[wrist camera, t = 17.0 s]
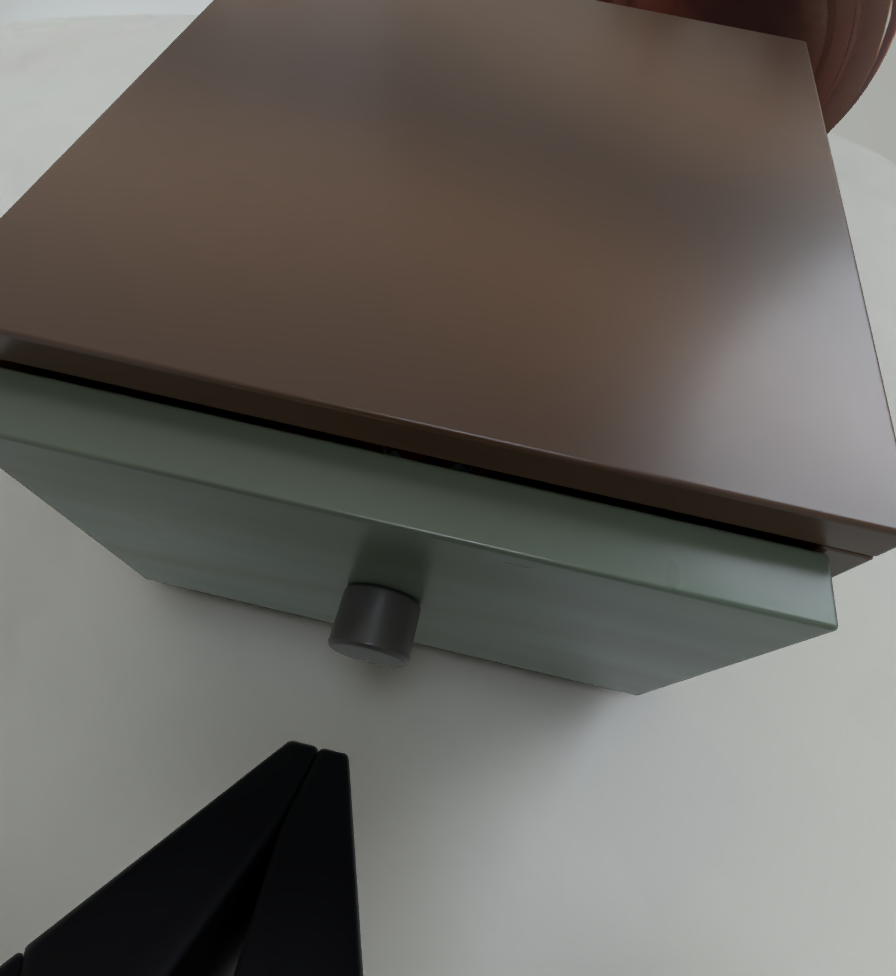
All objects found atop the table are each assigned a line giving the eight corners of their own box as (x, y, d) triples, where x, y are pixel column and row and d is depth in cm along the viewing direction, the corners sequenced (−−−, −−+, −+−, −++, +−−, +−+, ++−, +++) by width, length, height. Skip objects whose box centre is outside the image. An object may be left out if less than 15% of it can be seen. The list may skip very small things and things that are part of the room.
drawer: (636, 746, 13) (854, 721, 7) (122, 622, 14) (-122, 492, 7) (653, 325, 20) (770, 118, 14) (311, 252, 21) (271, 18, 14)
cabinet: (648, 661, 15) (922, 538, 7) (157, 545, 16) (-95, 311, 8) (660, 305, 22) (807, 40, 14) (318, 232, 23) (274, -64, 15)
